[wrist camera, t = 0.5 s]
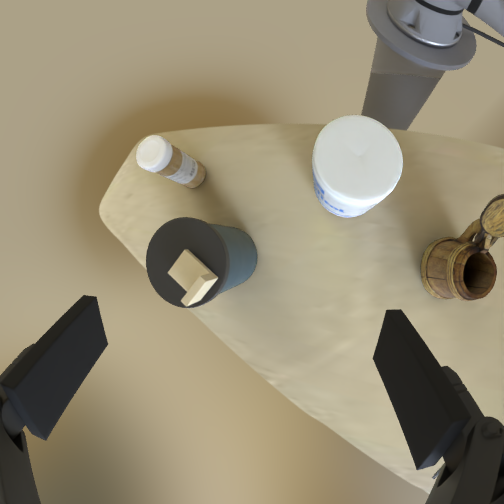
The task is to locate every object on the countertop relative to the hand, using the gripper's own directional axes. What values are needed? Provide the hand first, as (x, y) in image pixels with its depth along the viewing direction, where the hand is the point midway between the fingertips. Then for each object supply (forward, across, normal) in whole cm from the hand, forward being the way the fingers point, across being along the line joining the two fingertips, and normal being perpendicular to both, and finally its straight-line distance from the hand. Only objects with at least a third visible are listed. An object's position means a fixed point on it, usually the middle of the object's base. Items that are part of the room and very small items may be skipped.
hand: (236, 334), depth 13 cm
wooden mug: (+26, +29, -5) cm, 40 cm away
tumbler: (+32, -4, -9) cm, 33 cm away
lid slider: (+17, -6, -5) cm, 19 cm away
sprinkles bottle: (+37, -10, +3) cm, 39 cm away
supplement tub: (+32, +13, +3) cm, 35 cm away
